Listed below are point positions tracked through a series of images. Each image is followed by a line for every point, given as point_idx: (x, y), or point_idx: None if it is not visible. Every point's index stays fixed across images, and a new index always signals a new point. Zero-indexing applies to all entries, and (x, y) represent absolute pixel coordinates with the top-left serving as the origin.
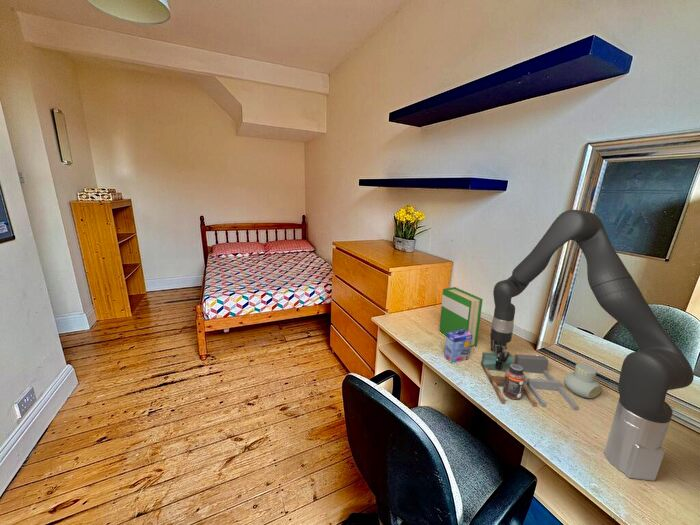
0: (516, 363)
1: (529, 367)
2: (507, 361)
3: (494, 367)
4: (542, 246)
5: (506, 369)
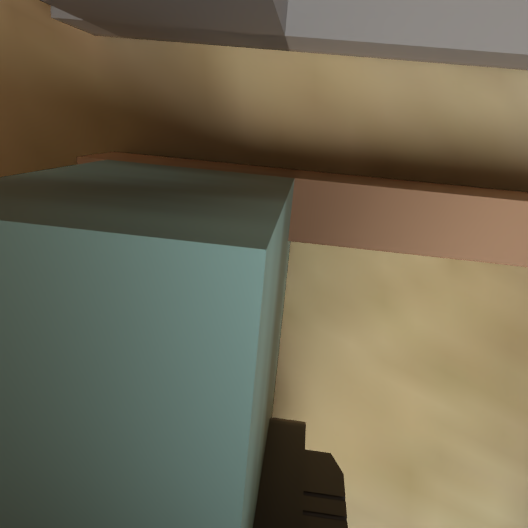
0: (181, 8)
1: None
2: (264, 409)
3: None
4: None
5: (284, 291)
